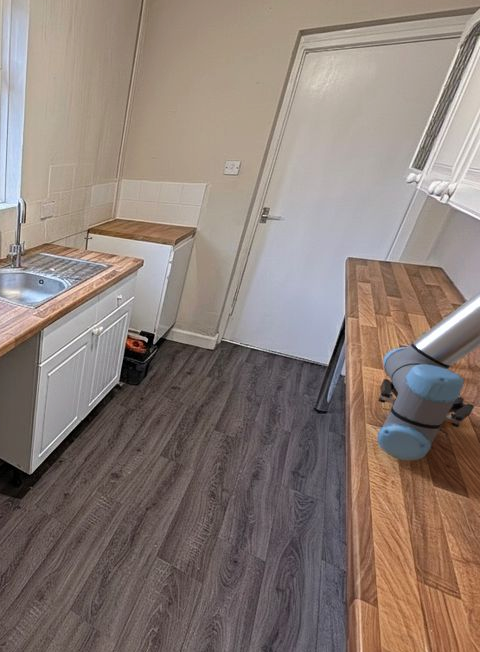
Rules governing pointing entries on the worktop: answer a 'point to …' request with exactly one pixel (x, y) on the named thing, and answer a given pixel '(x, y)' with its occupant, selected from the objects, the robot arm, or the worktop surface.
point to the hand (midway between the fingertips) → (429, 385)
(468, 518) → the worktop surface
